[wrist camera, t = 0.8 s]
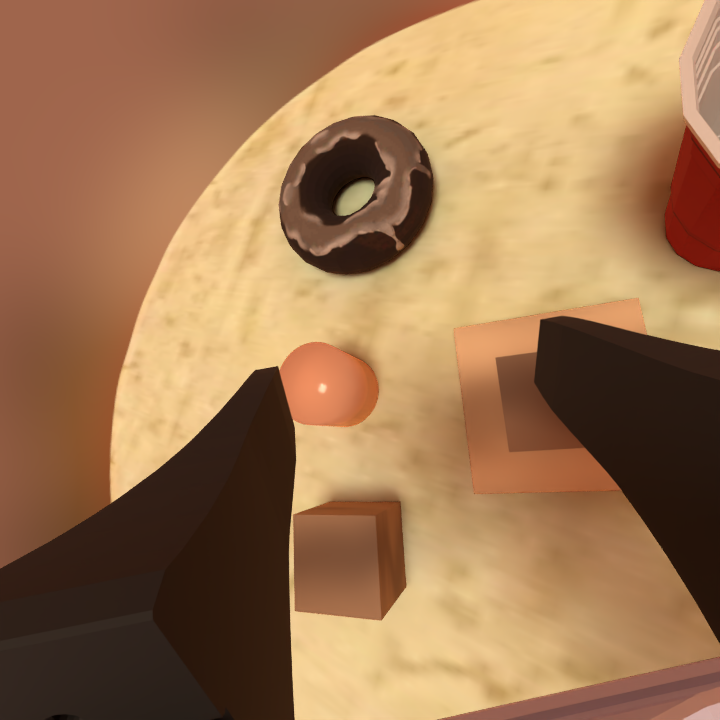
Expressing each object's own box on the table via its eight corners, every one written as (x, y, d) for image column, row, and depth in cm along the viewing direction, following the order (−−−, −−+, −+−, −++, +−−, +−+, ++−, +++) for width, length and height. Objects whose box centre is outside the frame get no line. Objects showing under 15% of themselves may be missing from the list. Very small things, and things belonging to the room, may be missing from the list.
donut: (305, 300, 31) (277, 282, 28) (288, 174, 34) (261, 143, 30) (453, 253, 28) (443, 225, 24) (420, 116, 30) (406, 73, 27)
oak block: (654, 479, 21) (683, 488, 18) (480, 485, 24) (474, 493, 21) (619, 319, 23) (638, 297, 20) (462, 343, 26) (453, 328, 23)
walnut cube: (406, 586, 25) (381, 620, 20) (333, 580, 26) (294, 611, 22) (400, 501, 26) (375, 515, 21) (330, 501, 27) (293, 514, 23)
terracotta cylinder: (380, 424, 27) (353, 421, 22) (315, 429, 29) (277, 427, 24) (376, 352, 28) (349, 336, 23) (313, 361, 30) (276, 347, 25)
